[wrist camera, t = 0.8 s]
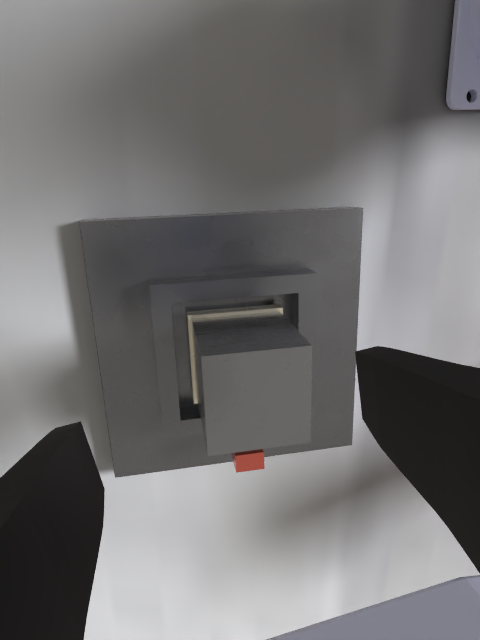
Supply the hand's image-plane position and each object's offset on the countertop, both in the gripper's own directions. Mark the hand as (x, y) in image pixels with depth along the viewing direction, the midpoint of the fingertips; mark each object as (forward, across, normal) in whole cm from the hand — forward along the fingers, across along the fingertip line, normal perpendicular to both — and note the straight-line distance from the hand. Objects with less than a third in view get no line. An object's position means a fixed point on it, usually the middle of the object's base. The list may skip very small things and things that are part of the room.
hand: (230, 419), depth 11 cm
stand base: (+10, -1, +2) cm, 10 cm away
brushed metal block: (+9, -1, +2) cm, 9 cm away
